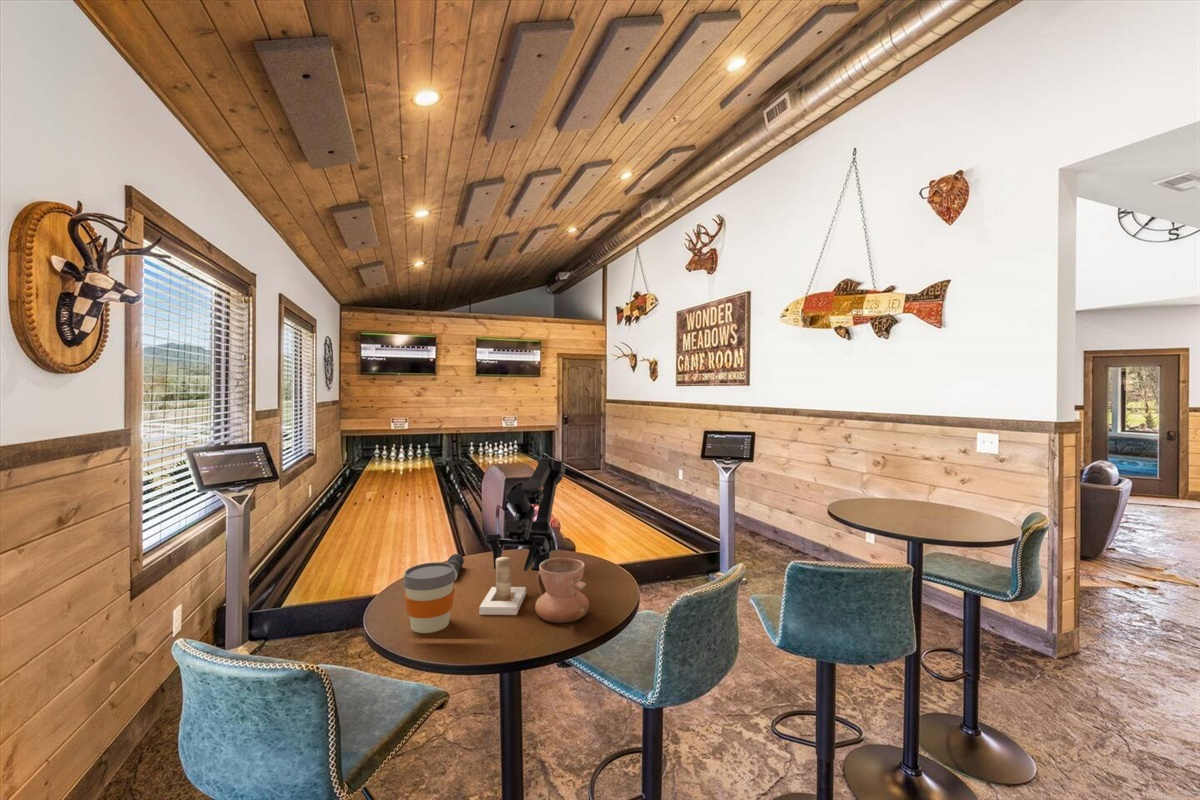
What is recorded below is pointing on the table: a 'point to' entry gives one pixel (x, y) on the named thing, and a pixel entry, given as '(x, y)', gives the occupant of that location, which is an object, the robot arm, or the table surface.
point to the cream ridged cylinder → (503, 579)
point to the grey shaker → (456, 563)
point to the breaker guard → (502, 602)
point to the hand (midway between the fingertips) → (509, 569)
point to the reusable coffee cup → (429, 595)
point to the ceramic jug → (561, 590)
